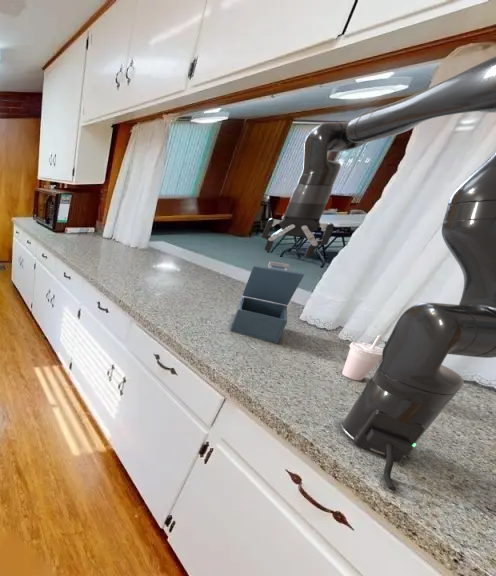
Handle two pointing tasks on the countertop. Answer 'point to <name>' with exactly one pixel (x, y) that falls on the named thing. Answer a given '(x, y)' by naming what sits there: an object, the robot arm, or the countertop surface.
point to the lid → (272, 283)
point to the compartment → (260, 319)
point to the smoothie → (362, 359)
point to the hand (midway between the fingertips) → (286, 254)
